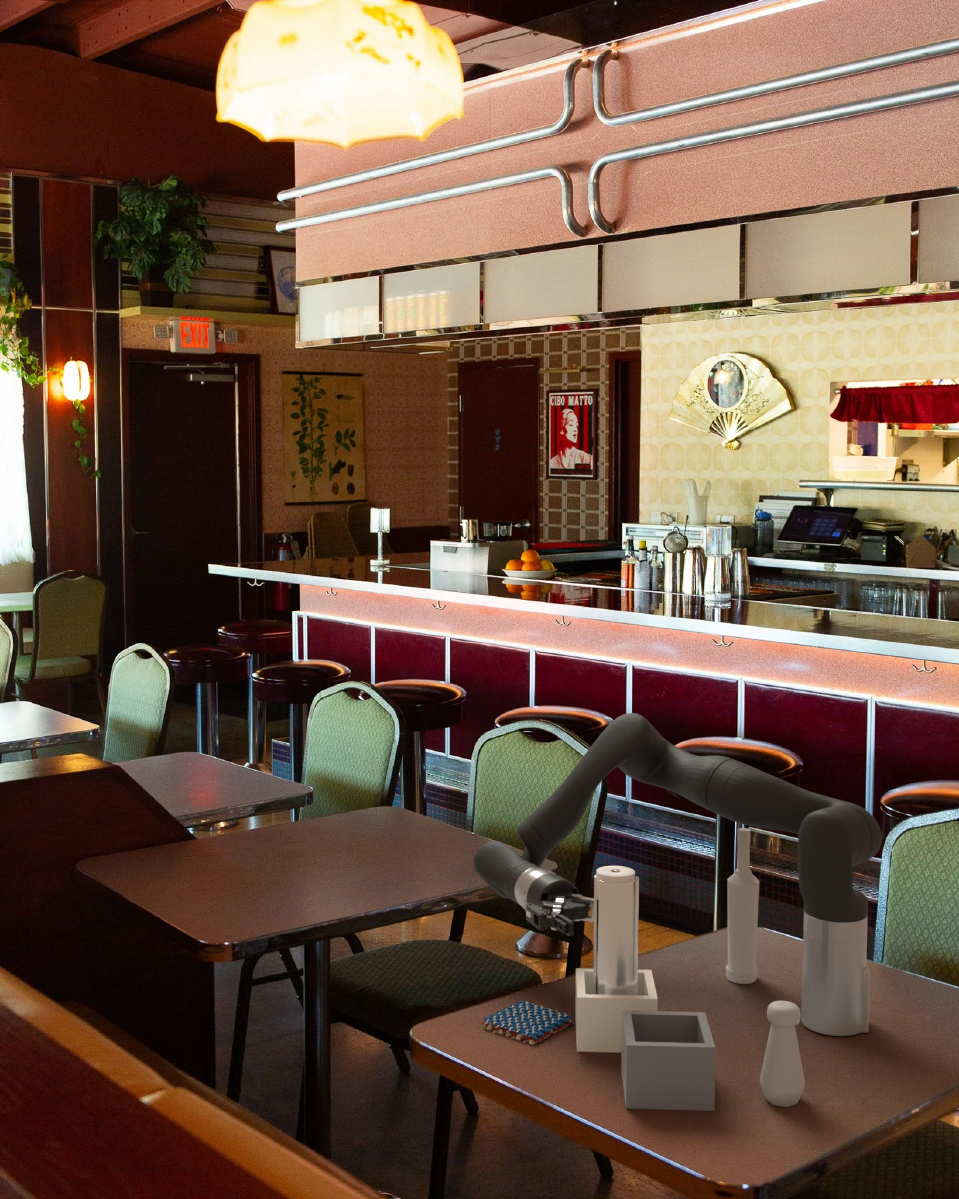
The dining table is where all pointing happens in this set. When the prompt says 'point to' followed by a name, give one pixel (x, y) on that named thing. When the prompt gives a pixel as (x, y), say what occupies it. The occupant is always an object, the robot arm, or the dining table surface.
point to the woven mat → (527, 1022)
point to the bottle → (742, 916)
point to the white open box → (607, 1011)
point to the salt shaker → (782, 1056)
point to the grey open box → (667, 1061)
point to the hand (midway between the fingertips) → (596, 925)
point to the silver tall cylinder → (615, 931)
